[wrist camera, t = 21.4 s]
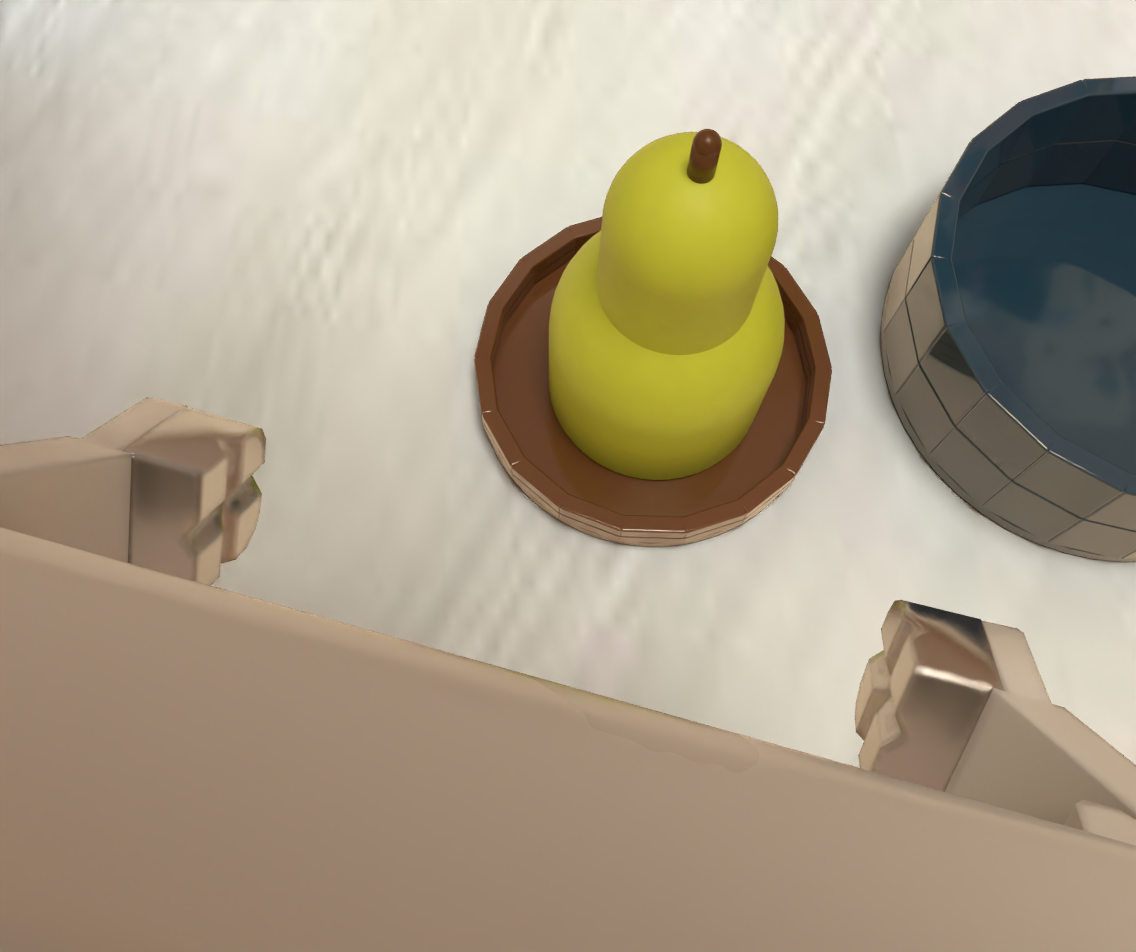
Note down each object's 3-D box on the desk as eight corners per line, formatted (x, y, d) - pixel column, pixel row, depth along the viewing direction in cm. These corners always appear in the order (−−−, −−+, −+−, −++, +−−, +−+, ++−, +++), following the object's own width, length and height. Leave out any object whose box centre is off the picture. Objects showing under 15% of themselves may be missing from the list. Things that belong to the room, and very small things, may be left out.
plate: (411, 436, 33) (405, 416, 31) (592, 183, 36) (594, 155, 34) (714, 615, 31) (722, 603, 30) (876, 334, 34) (890, 311, 33)
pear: (508, 412, 32) (488, 177, 21) (616, 254, 34) (650, -37, 23) (694, 520, 31) (775, 331, 20) (796, 351, 33) (921, 94, 22)
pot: (807, 420, 33) (850, 346, 28) (984, 116, 37) (1048, 7, 32) (1219, 647, 31) (1340, 607, 26) (1360, 298, 35) (1487, 210, 30)
